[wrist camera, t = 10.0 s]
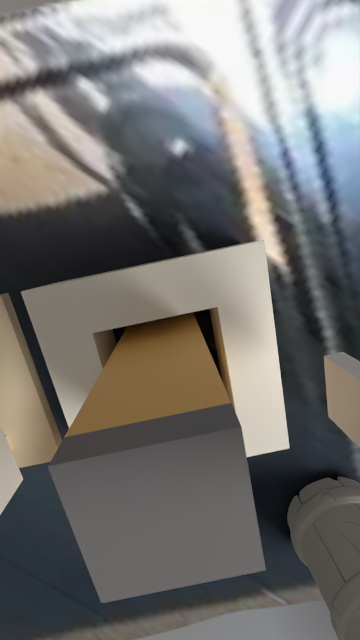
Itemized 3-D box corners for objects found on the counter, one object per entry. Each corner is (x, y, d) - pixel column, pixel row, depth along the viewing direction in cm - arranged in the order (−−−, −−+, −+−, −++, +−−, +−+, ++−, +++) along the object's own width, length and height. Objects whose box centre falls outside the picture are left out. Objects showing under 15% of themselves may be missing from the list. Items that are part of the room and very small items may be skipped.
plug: (142, 387, 19) (101, 603, 7) (126, 326, 18) (47, 466, 6) (205, 374, 19) (265, 570, 7) (193, 313, 18) (241, 426, 6)
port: (105, 442, 20) (90, 489, 16) (54, 282, 17) (20, 291, 13) (265, 409, 20) (289, 448, 16) (241, 243, 17) (264, 240, 13)
